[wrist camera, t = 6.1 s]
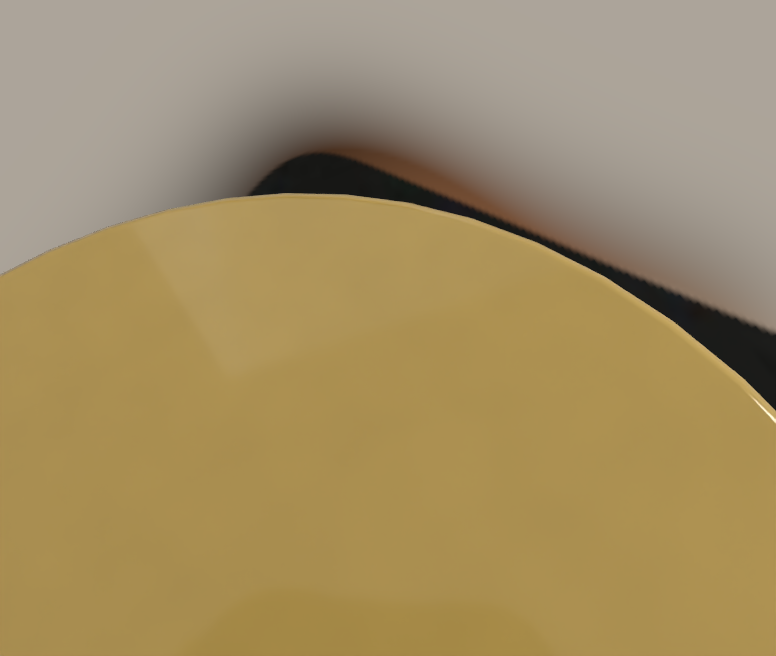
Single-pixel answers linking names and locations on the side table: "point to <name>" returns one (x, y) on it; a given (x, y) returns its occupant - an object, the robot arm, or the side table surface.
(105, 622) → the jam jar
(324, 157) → the side table surface
